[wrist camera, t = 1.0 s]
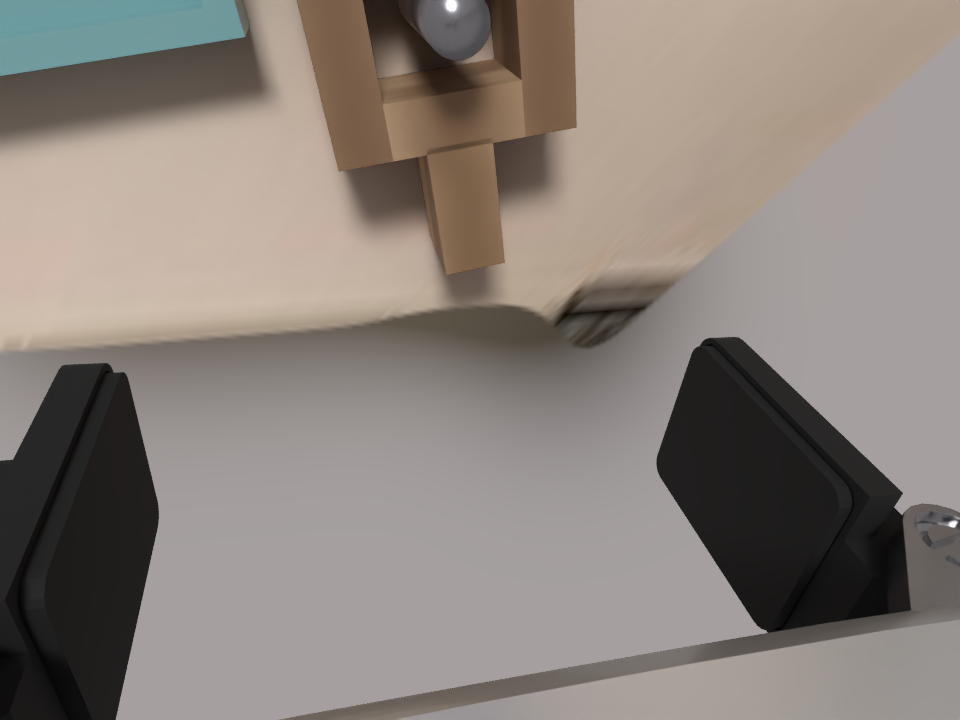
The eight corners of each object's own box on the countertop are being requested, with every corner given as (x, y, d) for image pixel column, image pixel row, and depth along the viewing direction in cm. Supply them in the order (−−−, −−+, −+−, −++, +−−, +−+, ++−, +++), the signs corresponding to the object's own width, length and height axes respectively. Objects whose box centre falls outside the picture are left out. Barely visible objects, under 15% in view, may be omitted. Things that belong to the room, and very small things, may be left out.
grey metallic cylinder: (446, -36, 24) (487, -21, 19) (453, 23, 25) (494, 54, 20) (392, -28, 24) (419, -10, 18) (402, 32, 25) (429, 65, 20)
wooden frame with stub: (531, -170, 22) (570, -182, 19) (549, 211, 30) (578, 247, 27) (267, -136, 21) (261, -144, 18) (360, 249, 29) (368, 291, 26)
